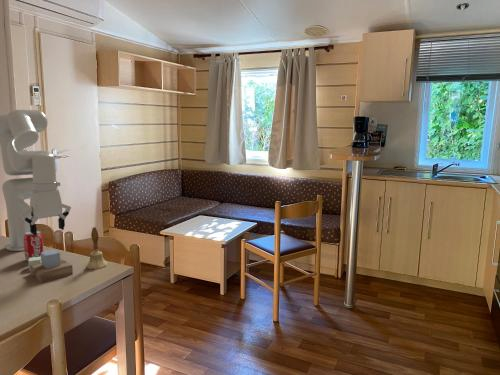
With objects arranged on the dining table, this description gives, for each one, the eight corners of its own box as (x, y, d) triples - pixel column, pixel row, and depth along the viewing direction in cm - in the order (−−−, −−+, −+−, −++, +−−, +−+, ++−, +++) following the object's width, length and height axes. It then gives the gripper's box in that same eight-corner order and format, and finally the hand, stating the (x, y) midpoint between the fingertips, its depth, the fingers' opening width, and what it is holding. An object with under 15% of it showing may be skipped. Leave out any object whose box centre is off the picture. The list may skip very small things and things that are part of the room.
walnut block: (30, 275, 145) (30, 265, 145) (60, 267, 153) (60, 257, 153) (42, 283, 138) (41, 273, 137) (72, 274, 146) (72, 265, 146)
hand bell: (91, 271, 149) (89, 231, 147) (82, 265, 155) (80, 227, 152) (111, 265, 155) (109, 227, 153) (101, 260, 161) (100, 223, 158)
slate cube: (41, 264, 145) (40, 252, 144) (55, 261, 149) (54, 249, 148) (46, 268, 142) (45, 255, 141) (60, 265, 145) (59, 252, 144)
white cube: (30, 267, 152) (29, 257, 151) (41, 265, 154) (40, 256, 153) (29, 270, 148) (28, 261, 148) (40, 269, 150) (40, 259, 149)
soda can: (48, 257, 163) (46, 230, 161) (37, 263, 156) (35, 235, 154) (32, 256, 164) (30, 229, 161) (21, 262, 157) (18, 234, 155)
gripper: (64, 182, 149) (67, 225, 152) (15, 188, 136) (19, 234, 139) (73, 185, 144) (75, 229, 147) (22, 191, 131) (26, 239, 135)
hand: (48, 231), depth 143 cm, fingers open, 9 cm apart
